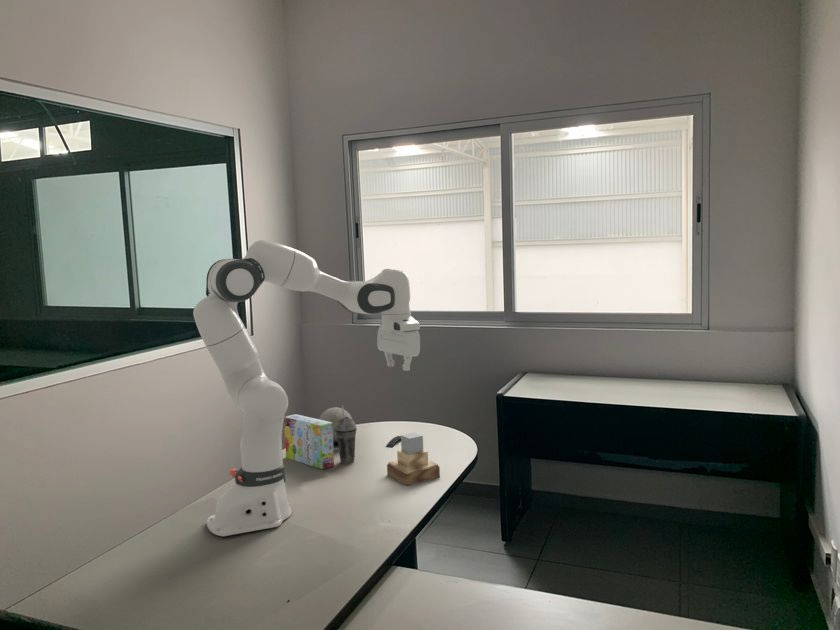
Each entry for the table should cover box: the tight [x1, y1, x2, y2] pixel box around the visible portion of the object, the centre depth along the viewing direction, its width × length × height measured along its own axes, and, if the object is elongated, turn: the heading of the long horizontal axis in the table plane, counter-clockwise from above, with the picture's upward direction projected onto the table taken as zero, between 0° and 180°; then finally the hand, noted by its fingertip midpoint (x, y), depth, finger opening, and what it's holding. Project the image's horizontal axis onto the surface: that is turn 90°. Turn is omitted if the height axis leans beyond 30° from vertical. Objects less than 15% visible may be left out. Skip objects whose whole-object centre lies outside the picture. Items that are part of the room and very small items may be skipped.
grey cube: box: [400, 432, 424, 454], centre depth 195 cm, size 5×5×5 cm
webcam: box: [318, 406, 354, 453], centre depth 229 cm, size 13×13×15 cm
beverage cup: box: [335, 404, 358, 466], centre depth 211 cm, size 7×7×20 cm
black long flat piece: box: [385, 435, 401, 449], centre depth 230 cm, size 9×25×3 cm, turn 155°
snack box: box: [283, 413, 335, 470], centre depth 214 cm, size 21×6×15 cm, turn 47°
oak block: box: [396, 449, 429, 469], centre depth 196 cm, size 7×7×4 cm
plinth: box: [386, 459, 441, 486], centre depth 196 cm, size 12×12×4 cm
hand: (398, 368), depth 189 cm, fingers open, 8 cm apart
